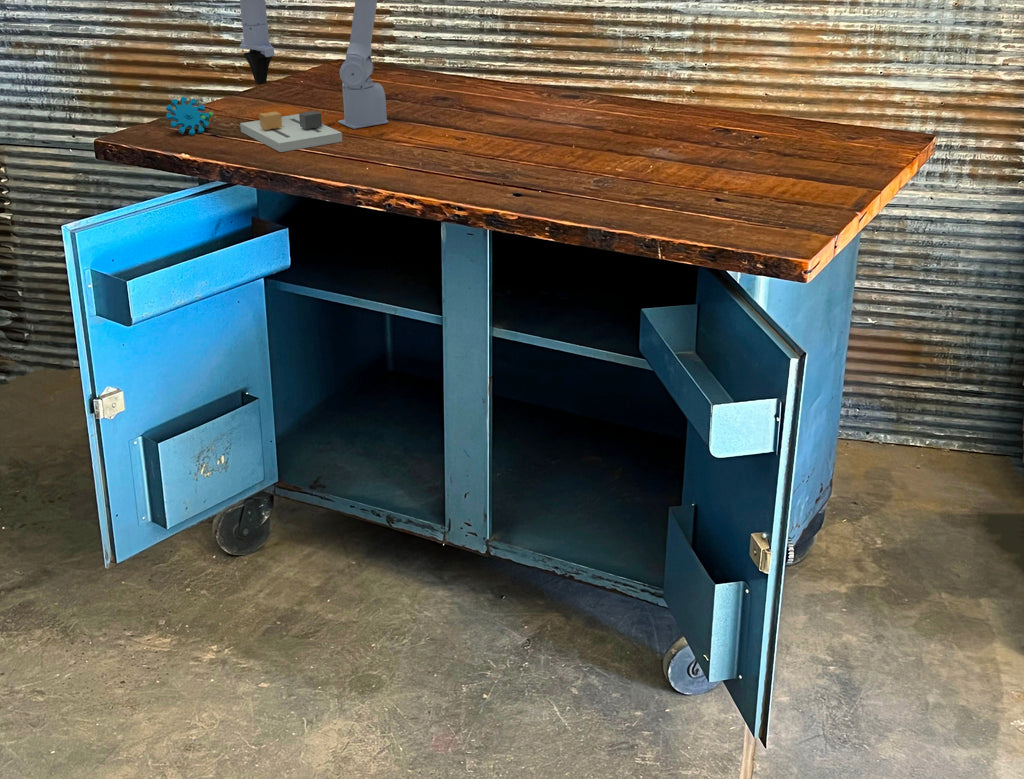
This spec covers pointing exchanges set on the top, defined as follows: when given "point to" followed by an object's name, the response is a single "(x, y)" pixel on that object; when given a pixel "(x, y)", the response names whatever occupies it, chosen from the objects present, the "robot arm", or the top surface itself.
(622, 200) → the top surface
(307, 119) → the black fader
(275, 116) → the tan fader
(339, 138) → the fader panel
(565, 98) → the top surface
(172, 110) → the gear
